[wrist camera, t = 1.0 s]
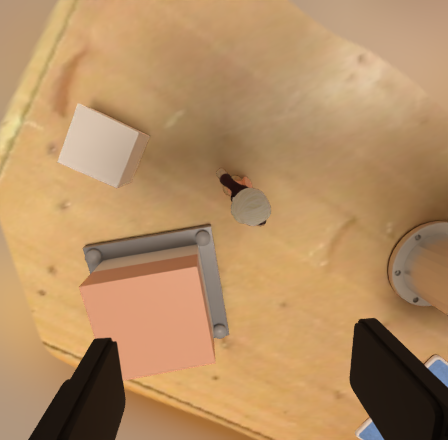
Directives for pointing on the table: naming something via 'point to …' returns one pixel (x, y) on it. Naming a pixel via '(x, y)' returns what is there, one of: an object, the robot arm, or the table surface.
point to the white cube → (102, 147)
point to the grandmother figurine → (245, 199)
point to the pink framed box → (157, 300)
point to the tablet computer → (436, 365)
